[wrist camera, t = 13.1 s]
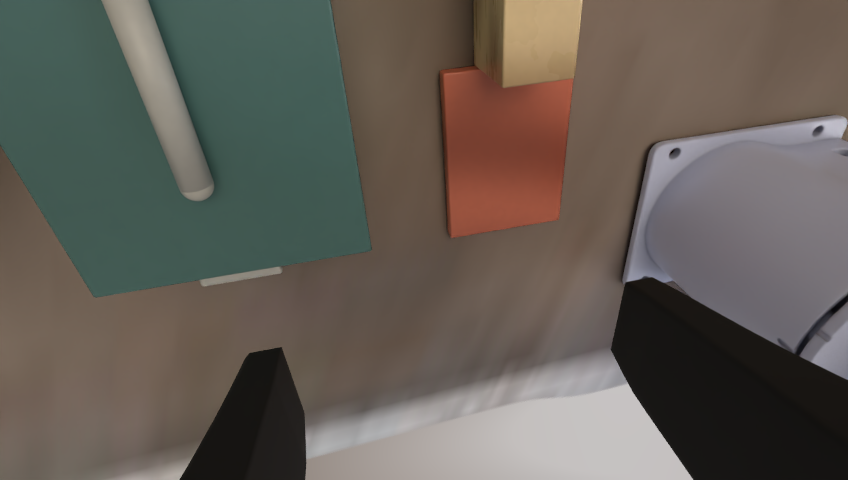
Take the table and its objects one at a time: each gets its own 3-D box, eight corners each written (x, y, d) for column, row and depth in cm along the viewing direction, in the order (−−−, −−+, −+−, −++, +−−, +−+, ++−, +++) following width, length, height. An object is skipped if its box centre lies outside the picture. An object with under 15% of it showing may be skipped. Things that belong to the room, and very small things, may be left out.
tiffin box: (290, -236, 12) (270, -363, 7) (361, 186, 19) (377, 279, 14) (-51, -221, 11) (-366, -354, 6) (153, 218, 18) (87, 330, 13)
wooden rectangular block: (554, 213, 21) (587, 252, 19) (447, 231, 21) (466, 274, 18) (614, -423, 11) (704, -531, 9) (412, -423, 11) (442, -538, 8)
